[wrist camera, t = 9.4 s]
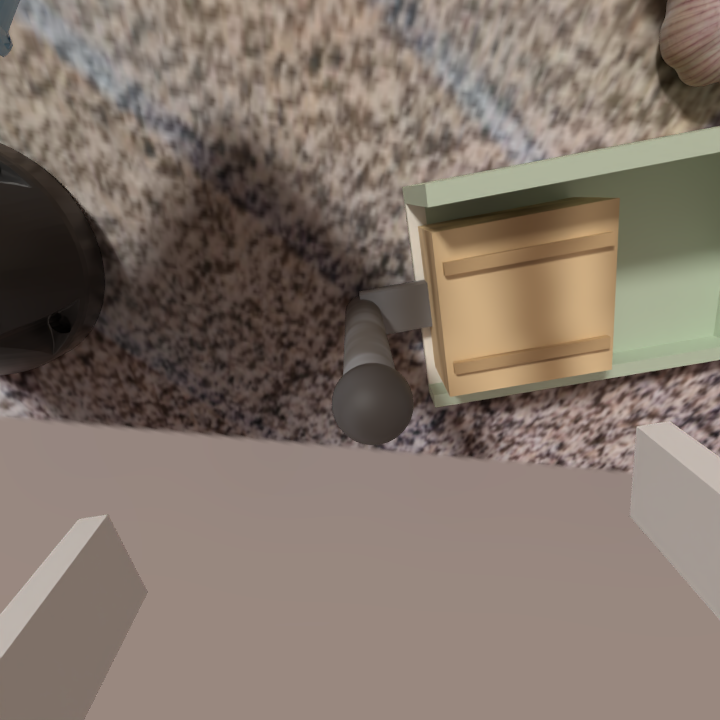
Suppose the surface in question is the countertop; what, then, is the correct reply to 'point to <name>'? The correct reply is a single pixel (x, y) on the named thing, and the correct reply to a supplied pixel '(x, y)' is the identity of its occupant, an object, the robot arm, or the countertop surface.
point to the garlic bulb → (692, 40)
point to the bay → (635, 244)
